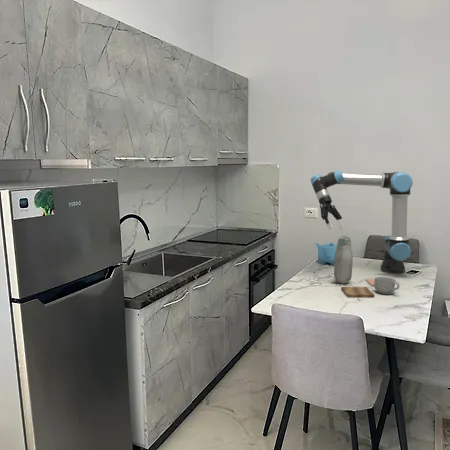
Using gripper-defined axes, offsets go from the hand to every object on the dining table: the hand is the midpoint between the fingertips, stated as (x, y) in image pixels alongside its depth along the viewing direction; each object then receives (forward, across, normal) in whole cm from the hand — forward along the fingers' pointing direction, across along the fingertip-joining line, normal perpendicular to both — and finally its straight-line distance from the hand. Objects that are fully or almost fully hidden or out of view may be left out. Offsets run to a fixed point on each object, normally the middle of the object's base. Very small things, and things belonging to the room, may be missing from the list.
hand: (336, 229), depth 249 cm
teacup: (+46, +1, +13) cm, 48 cm away
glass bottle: (+31, 0, -10) cm, 33 cm away
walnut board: (+41, +13, +3) cm, 43 cm away
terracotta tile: (+38, -13, +5) cm, 40 cm away
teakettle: (+9, -37, -34) cm, 51 cm away
